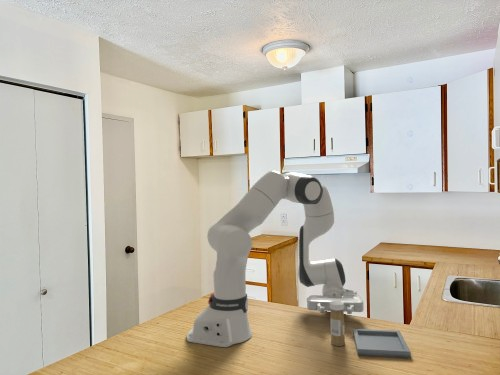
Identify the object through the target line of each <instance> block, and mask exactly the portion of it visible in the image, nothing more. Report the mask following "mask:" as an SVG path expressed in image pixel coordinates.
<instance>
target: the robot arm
mask: <svg viewBox="0 0 500 375" xmlns="http://www.w3.org/2000/svg"><path fill="white" fill-rule="evenodd" d="M281 200H288V201H290V202H292V203H295V204H296V203H297V204H302V205H303V208H304V209H303V210H304V216H305V220H304V224H303V225H301V226H300V228H299V236H298V237H299V238H298V256H299V260H298V262H299V263H298V268H297V277H298V280H299V282H300V284H301V285H302V286H304V287H307V288H310V287H314V286H319V285H322V291H321V293H322V294H321V295H318V294H317V295H316V294H315V295H313V294H312V295H309V296H308V297H307V298H306V306H307V307H306V308H307V310H309V311H318V312H319V314H325V312H330V302H331V301H342V302H343V303H344V313H347V315H351V314H352V313H363V312H364V310H365V309H364V308H365V306H364V301H363V299H362V297H361V296H360V295H358V292H357V290H356V291H355V290H351V289H345V288H344V286H345V284H346V282H347V281H346V275H345V271H344V266H343V264H342V262H341V261H340V260H338V259H337V258H327V259H326V258H325V259H321V260H320V259H319V260H312V261H311V260H309V259H310V256H309V255H310V254H309V253H310V252H309V251H310V250H309V249H310V244H311V243H312V242H313V241H314V240H316V239H317V238H320V237H322V236H323V235H325V234H327V233H328V232H329V231H330V230H331V229H332V228H333V226H334V223H335V213H334V206H333V203H332V199H331V196H330V194H329V190H328V188H327V187H326V186H325V185H324V184H321V182H320V180H319V179H318V178H316V177H315V176H313V175H310V174H306V173H305V174H304V173H300V172H290V171H286V172H279V171H276V170H270V171H267V172H266V173H265V174H263V176H261V177H260V178H259V179H258V180H257V181H256V182H255V183H254V184H253V185H252V186H251V187H250V189H249V190H248V191H247V192H246V193H245V195H244V196H243V197H242V198H241V199H240V201H239V202H238V203H237V204H236V205H235V206H234V207H233V208H231V209H230V210H228V212H227V213H226V214H224V215H223V216H222V217H221V218H220V219H219V220H218V221H217V222H216V223H214V224H213V225H212V226H210V227H209V228H208V232H207V237H206V238H207V242H208V244H209V246H210V248H211V249H213V250H214V251H216V262H215V269H214V271H213V274H212V275H213V292H212V293H210V296H209V297H208V300H207V304H208V306H206V308H204V309H203V310H202V311H201V312H200V313H199V314H198V315H197V316H196V317H195V320H194V322H193V326H192V328H191V329H189V331H188V332H187V334H186V341H187V342H188V343H194V344H201V345H208V346H215V347H219V348H220V347H221V348H228V347H231V346H232V345H236V344H241V343H244V342H246V341H248V340H249V339H251V337H252V335H253V332H252V330H251V326H250V321H249V314H248V309H249V302H248V299H249V298H248V294H247V289H246V287H247V286H246V284H247V283H246V272H247V264H248V263H247V262H248V257H249V254H250V252H251V250H252V248H253V241H252V236H251V235H250V234H249V233H251V231H253V230H255V228H257V227H259V226H261V225H262V224H263V223H264V222H265V220H266V219H267V218H268V217H269V216H270V214H271V213H272V211H273V210H275V209H276V207H277V205H278V204H279V203H280V201H281Z"/></svg>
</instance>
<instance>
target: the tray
mask: <svg viewBox="0 0 500 375" xmlns="http://www.w3.org/2000/svg"><path fill="white" fill-rule="evenodd" d="M352 332H353V339H354V344H355V349H356V354H357V356H359V357H360V356H362V357H363V356H364V357H378V358H379V357H382V358H399V359H411V357H412V356H411V350H410V348H409V346H408V344H407V341H406V340H405V338H404V336H403V335H402V333H401V331H400V330H395V329H394V330H389V329H369V328H353V329H352Z"/></svg>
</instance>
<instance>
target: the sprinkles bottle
mask: <svg viewBox="0 0 500 375" xmlns="http://www.w3.org/2000/svg"><path fill="white" fill-rule="evenodd" d="M329 312H330V317H329V319H330V321H329V322H330V338H331V340H330V343H331V344H332V345H333V346H335V347H336V346H337V347H342V346H344V345H345V344H346V341H345V315H344V314H345V312H344V303H343V302H342V301H331V302H330V311H329Z"/></svg>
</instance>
